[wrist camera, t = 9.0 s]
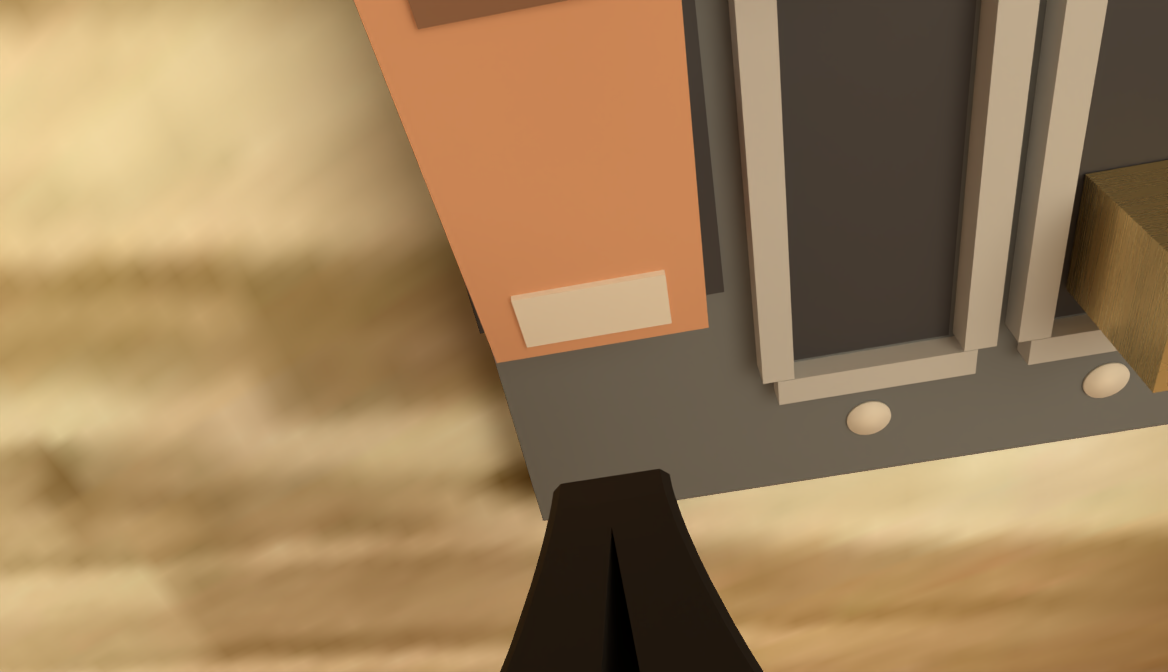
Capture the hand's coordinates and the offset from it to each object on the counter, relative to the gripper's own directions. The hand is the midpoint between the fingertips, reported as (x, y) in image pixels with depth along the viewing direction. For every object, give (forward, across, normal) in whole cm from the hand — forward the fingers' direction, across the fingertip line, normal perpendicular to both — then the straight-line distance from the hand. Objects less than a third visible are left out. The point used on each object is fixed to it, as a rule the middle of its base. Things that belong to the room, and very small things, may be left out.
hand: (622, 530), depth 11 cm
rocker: (+4, 0, -4) cm, 5 cm away
